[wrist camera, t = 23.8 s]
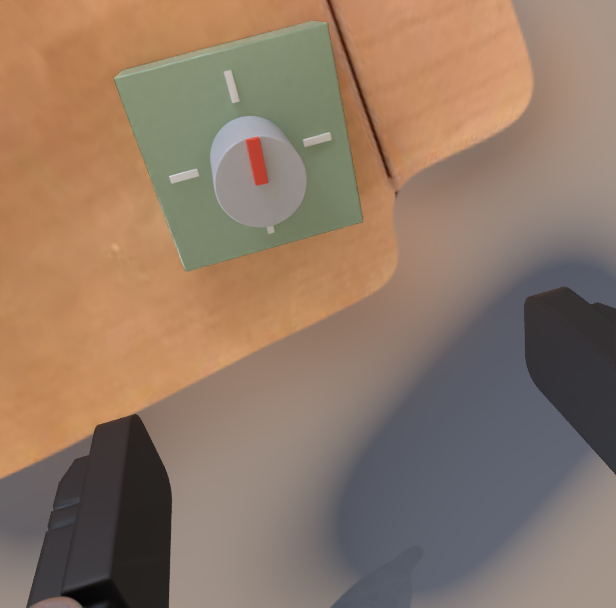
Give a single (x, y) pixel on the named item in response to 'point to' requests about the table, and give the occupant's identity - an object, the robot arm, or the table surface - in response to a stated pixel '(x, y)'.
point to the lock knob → (257, 172)
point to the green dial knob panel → (234, 104)
